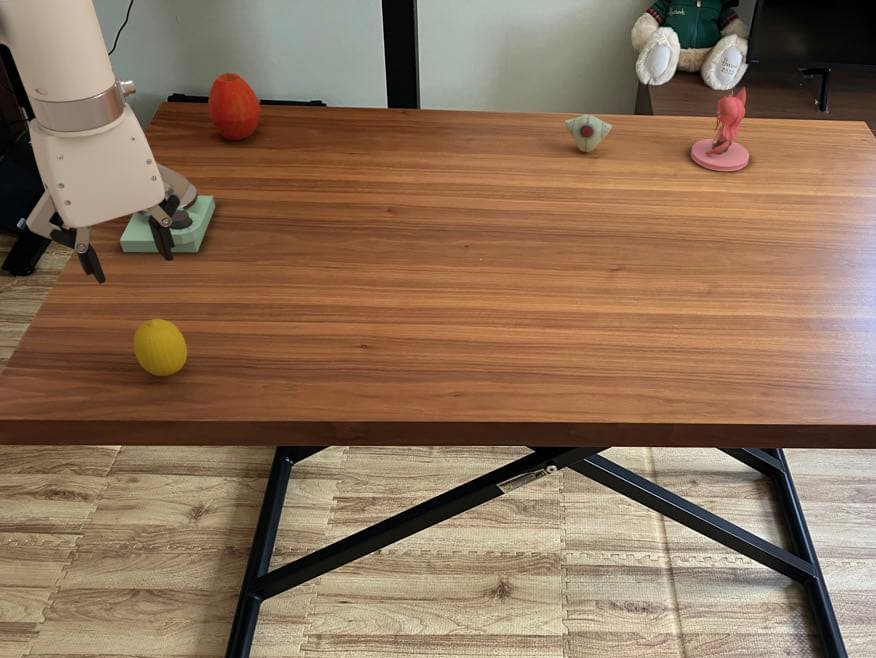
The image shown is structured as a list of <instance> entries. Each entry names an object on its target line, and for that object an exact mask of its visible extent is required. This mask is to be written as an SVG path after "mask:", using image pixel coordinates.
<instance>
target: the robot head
mask: <svg viewBox="0 0 876 658" xmlns="http://www.w3.org/2000/svg"><path fill="white" fill-rule="evenodd" d="M564 122H565V129H566V130H567V131H568V133H569V134H570V136H571V137H572V138H573V140H574V142H575V145H576V147H577V148H578V149H579V150H580V151H581V152H584V153H591V152H592V151H594V149H595V148H596V147H597V146H598V145H599V143H600V142H601V141H602V140H604V138H606V137H607V136H608V134H609V133H610V132H611V129H612V128H613V124H611V123H608V122H606V121H603V120H601V119H600V118H598V117H596V116H595V115H591V114H582V115H580V116H578V117H575V118H570V119H565V120H564Z"/></svg>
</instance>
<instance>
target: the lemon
mask: <svg viewBox="0 0 876 658" xmlns="http://www.w3.org/2000/svg"><path fill="white" fill-rule="evenodd" d="M133 352H134V355H135V357H136V359H137V361H138V364H139V365H140V366H141V367H142V368H143V370H145V371H146V372H147V373H149V374H151V375H153V376H158V377H169V376H172V375H175V374H176V373H177V372H179V371H180V370H181V369H182V368H183V367H184V365H185V364H186V361H187V357H188V347H187V342H186V340H185V338H184V335H183V334H182V332H181V330H180V329H178V327H177V326H176V325H175V324H174V323H172V322H171V321H169V320H166V319H161V318H153V319H150V320H149V319H148V320H147V321H144V322H143V323H142V324H140V325H139V326H138V327H137V329H136V331H135V333H134V335H133Z"/></svg>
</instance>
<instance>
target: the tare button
mask: <svg viewBox="0 0 876 658" xmlns="http://www.w3.org/2000/svg"><path fill="white" fill-rule="evenodd" d="M171 219H172V223H171V225H170V228H171V229H173V230H181V229H185V228H188V227H189V226H191V221H190V217H189V214H188V212H186V211H183V210H177V211H175V213H174V215H173V216H172V218H171Z"/></svg>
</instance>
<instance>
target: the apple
mask: <svg viewBox="0 0 876 658" xmlns="http://www.w3.org/2000/svg"><path fill="white" fill-rule="evenodd" d="M208 95H209V96H208V101H207V110H208V111H207V112H208V117H209V120H210V122H211V123H212V125H213V127H214V128H215V130H217V132H218V133H219V134H220V135H221V136H222V137H223V138H224V139H225V140H229V141H234V142H237V141H242V140H244V139H248V138H249V137H250V136H252V135H253V134H254V132H255V130H256V129H257V128H258V125H259V124H258V123H259V120H260V117H261V105H260V101H259V98H258V96H257V95H256V93H255V92H254V90H253V88H252V87H251V86H250V85H249V83H248V82H247V81H246V80H245V79H243V77H241V76H240V75H238V74H236V73H233V72H226V73H223V74H221V75H219V76H218V77H217V78H216V79H215V80H214V81H213V83H212V85H211V88H210V92H209V94H208Z"/></svg>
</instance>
